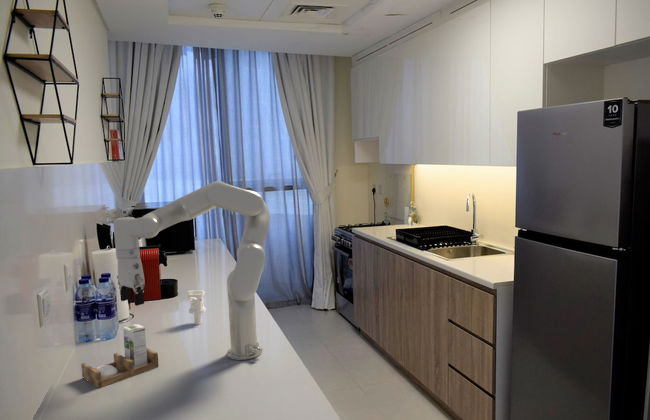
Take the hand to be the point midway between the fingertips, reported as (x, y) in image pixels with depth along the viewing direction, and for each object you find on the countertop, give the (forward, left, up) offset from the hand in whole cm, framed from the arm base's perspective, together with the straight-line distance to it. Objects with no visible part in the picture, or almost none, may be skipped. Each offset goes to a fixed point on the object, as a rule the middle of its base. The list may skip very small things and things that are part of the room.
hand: (132, 302), depth 177 cm
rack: (0, +5, -23) cm, 24 cm away
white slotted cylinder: (+23, -41, -23) cm, 52 cm away
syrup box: (0, 0, -23) cm, 23 cm away
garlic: (+1, +11, -24) cm, 26 cm away
